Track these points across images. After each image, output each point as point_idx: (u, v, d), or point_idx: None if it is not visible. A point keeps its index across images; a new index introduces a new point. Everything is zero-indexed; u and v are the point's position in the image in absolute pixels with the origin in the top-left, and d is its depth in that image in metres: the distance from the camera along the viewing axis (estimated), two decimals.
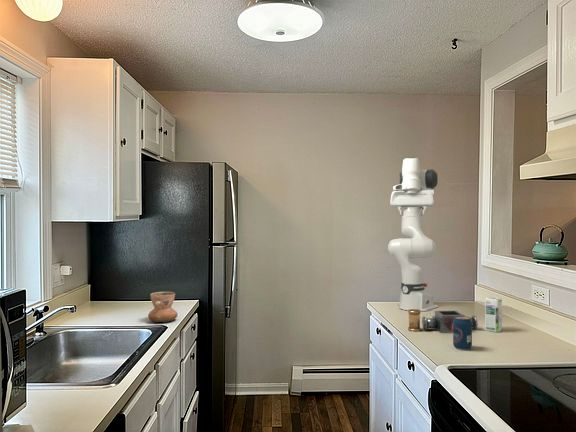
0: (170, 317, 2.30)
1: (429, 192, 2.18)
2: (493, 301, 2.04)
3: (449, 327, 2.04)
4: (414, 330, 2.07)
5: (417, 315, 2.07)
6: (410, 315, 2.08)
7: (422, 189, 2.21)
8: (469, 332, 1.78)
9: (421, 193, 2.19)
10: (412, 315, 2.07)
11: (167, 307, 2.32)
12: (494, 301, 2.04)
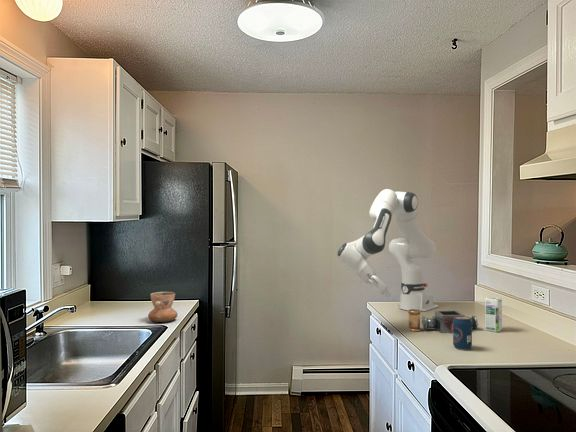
0: (170, 317, 2.30)
1: (371, 283, 2.00)
2: (493, 301, 2.04)
3: (449, 327, 2.04)
4: (414, 330, 2.07)
5: (417, 315, 2.07)
6: (410, 315, 2.08)
7: (368, 276, 2.03)
8: (469, 332, 1.78)
9: (370, 282, 2.04)
10: (412, 315, 2.07)
11: (167, 307, 2.32)
12: (494, 301, 2.04)
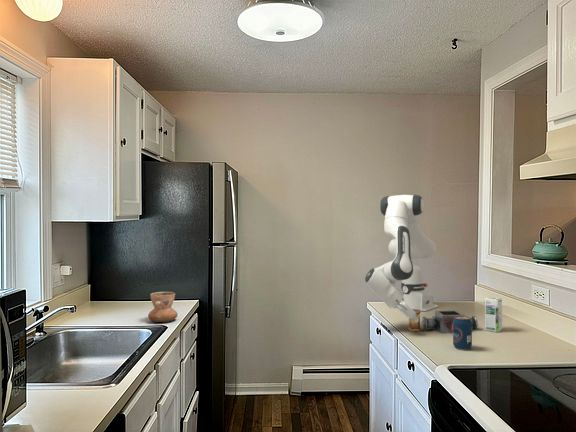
0: (170, 317, 2.30)
1: (400, 309, 2.01)
2: (493, 301, 2.04)
3: (449, 327, 2.04)
4: (414, 330, 2.07)
5: (417, 315, 2.07)
6: None
7: (397, 302, 2.04)
8: (469, 332, 1.78)
9: None
10: None
11: (167, 307, 2.32)
12: (494, 301, 2.04)
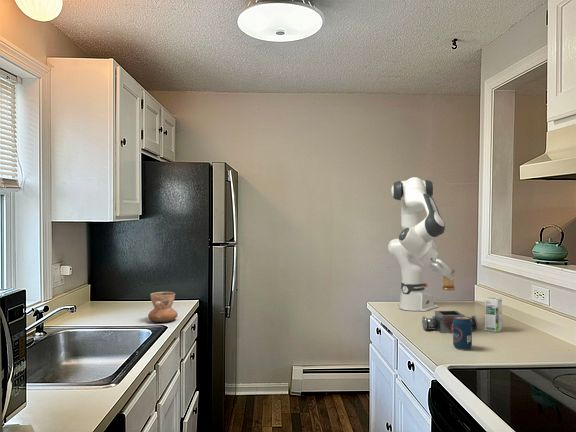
0: (170, 317, 2.30)
1: (436, 267, 2.01)
2: (493, 301, 2.04)
3: (449, 327, 2.04)
4: (449, 289, 2.07)
5: (452, 274, 2.07)
6: None
7: (432, 260, 2.04)
8: (469, 332, 1.78)
9: (434, 266, 2.05)
10: None
11: (167, 307, 2.32)
12: (494, 301, 2.04)
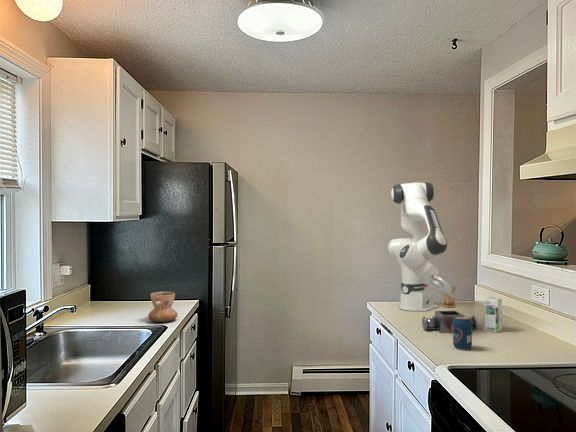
0: (170, 317, 2.30)
1: (436, 284, 2.01)
2: (493, 301, 2.04)
3: (449, 327, 2.04)
4: (449, 306, 2.06)
5: (452, 291, 2.07)
6: None
7: (432, 278, 2.04)
8: (469, 332, 1.78)
9: (434, 284, 2.05)
10: None
11: (167, 307, 2.32)
12: (494, 301, 2.04)
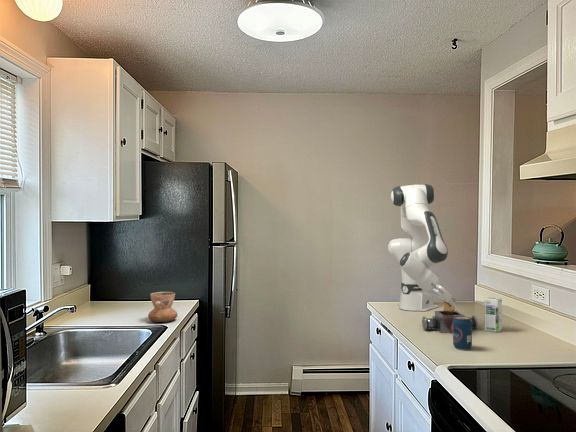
0: (170, 317, 2.30)
1: (436, 292, 2.01)
2: (493, 301, 2.04)
3: (449, 327, 2.04)
4: None
5: None
6: (445, 303, 2.08)
7: (433, 286, 2.04)
8: (469, 332, 1.78)
9: (434, 292, 2.05)
10: (447, 303, 2.07)
11: (167, 307, 2.32)
12: (494, 301, 2.04)
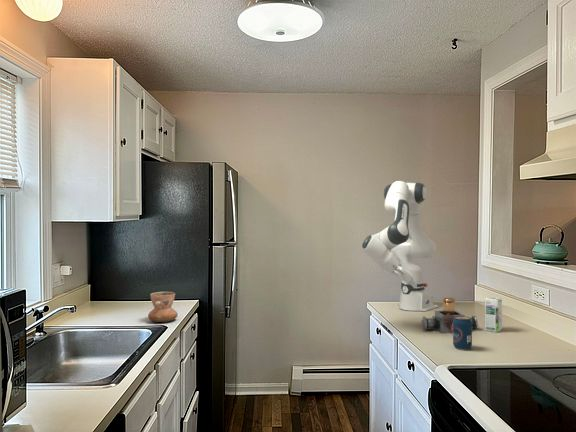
0: (170, 317, 2.30)
1: (397, 274, 2.03)
2: (493, 301, 2.04)
3: (449, 327, 2.04)
4: None
5: (452, 303, 2.07)
6: (445, 303, 2.08)
7: (394, 267, 2.06)
8: (469, 332, 1.78)
9: None
10: (447, 303, 2.07)
11: (167, 307, 2.32)
12: (494, 301, 2.04)
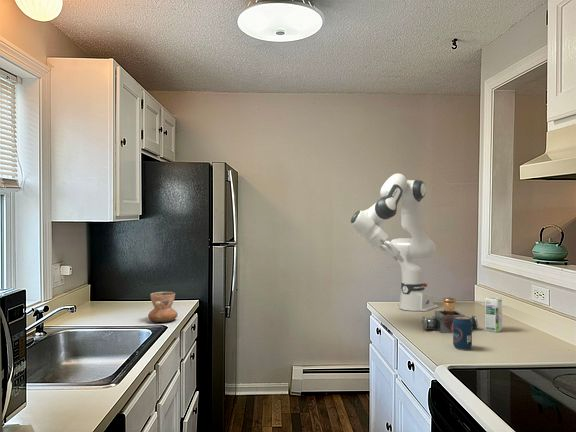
0: (170, 317, 2.30)
1: (384, 248, 2.05)
2: (493, 301, 2.04)
3: (449, 327, 2.04)
4: None
5: (452, 303, 2.07)
6: (445, 303, 2.08)
7: (382, 242, 2.08)
8: (469, 332, 1.78)
9: (383, 248, 2.09)
10: (447, 303, 2.07)
11: (167, 307, 2.32)
12: (494, 301, 2.04)
